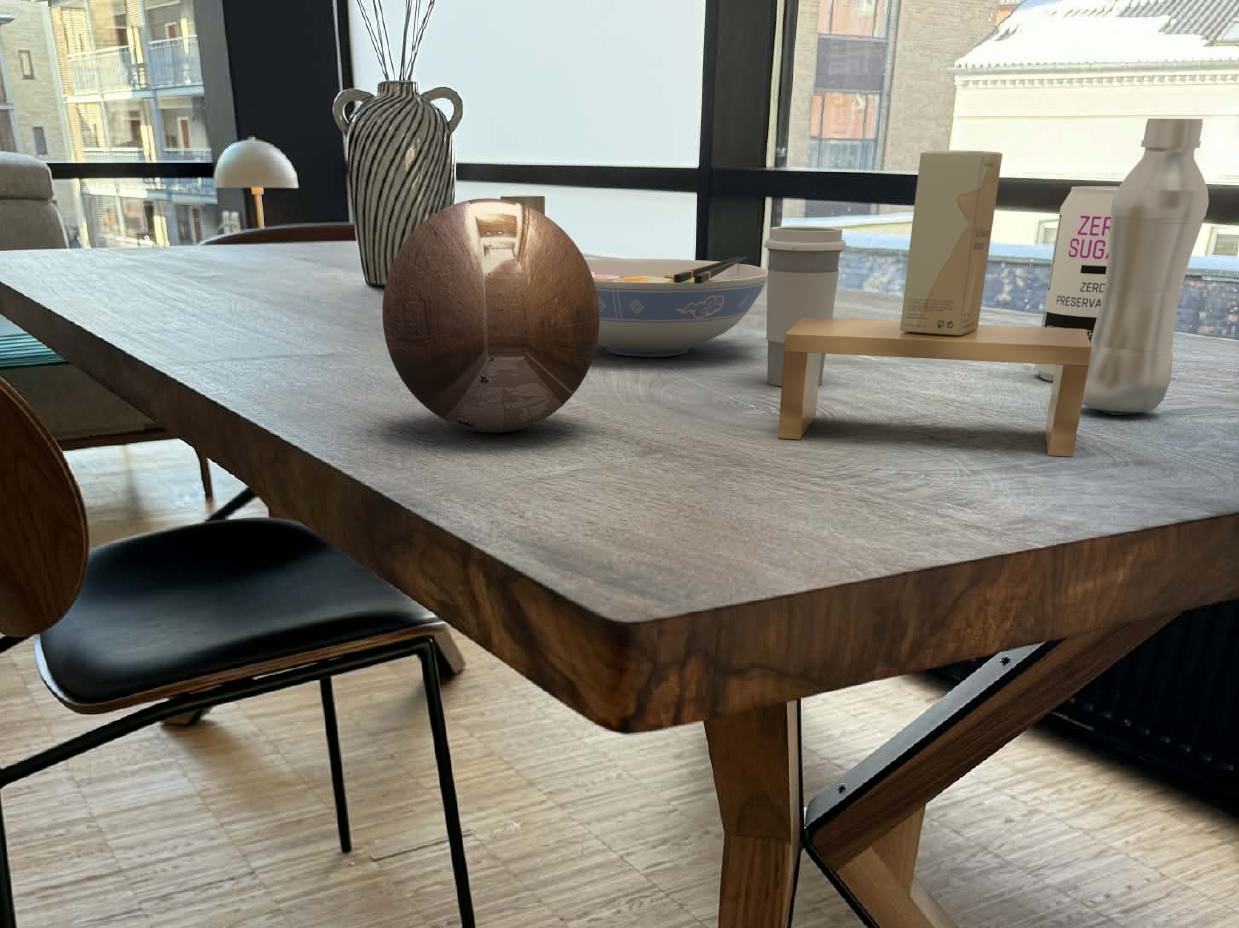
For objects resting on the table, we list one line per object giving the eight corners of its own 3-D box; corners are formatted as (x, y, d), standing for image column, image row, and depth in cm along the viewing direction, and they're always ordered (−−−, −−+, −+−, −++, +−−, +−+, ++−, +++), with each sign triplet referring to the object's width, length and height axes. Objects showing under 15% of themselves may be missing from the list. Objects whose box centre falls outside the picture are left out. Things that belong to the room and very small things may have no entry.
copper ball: (431, 461, 88) (419, 206, 81) (363, 419, 100) (346, 194, 93) (634, 441, 94) (640, 202, 87) (546, 404, 106) (545, 191, 99)
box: (959, 337, 91) (984, 151, 85) (897, 332, 93) (917, 150, 87) (980, 328, 95) (1004, 150, 89) (920, 324, 97) (940, 149, 91)
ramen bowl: (576, 329, 144) (576, 245, 140) (788, 340, 138) (794, 252, 134) (489, 364, 123) (487, 266, 119) (734, 379, 117) (740, 277, 113)
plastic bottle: (1073, 402, 108) (1124, 118, 99) (1162, 408, 106) (1223, 119, 97) (1070, 417, 103) (1123, 118, 93) (1164, 423, 101) (1229, 119, 91)
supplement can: (1107, 370, 123) (1142, 186, 115) (1146, 386, 115) (1185, 190, 108) (1020, 371, 122) (1049, 185, 115) (1053, 386, 115) (1086, 190, 108)
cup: (820, 392, 112) (834, 232, 106) (743, 385, 114) (753, 229, 108) (843, 379, 117) (857, 227, 112) (770, 373, 120) (780, 224, 114)
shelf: (1067, 431, 99) (1085, 328, 95) (1072, 456, 91) (1092, 346, 88) (794, 415, 103) (802, 317, 100) (777, 438, 96) (785, 333, 92)
